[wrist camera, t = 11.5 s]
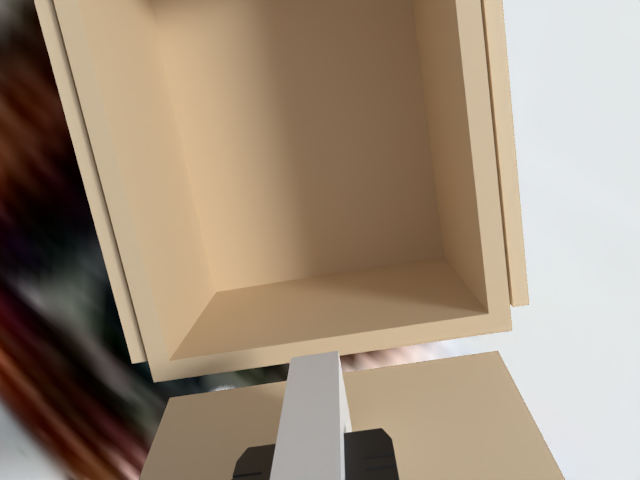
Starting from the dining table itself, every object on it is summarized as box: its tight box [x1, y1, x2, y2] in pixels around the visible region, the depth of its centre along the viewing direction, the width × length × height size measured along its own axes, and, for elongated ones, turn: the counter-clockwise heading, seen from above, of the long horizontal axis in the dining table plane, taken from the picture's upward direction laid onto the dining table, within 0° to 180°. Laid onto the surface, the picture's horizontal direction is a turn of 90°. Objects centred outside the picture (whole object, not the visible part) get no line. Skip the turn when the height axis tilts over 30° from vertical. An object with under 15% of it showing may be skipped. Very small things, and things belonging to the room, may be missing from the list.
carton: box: [34, 0, 529, 382], centre depth 23 cm, size 18×16×9 cm
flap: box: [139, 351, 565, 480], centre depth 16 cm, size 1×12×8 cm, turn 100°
